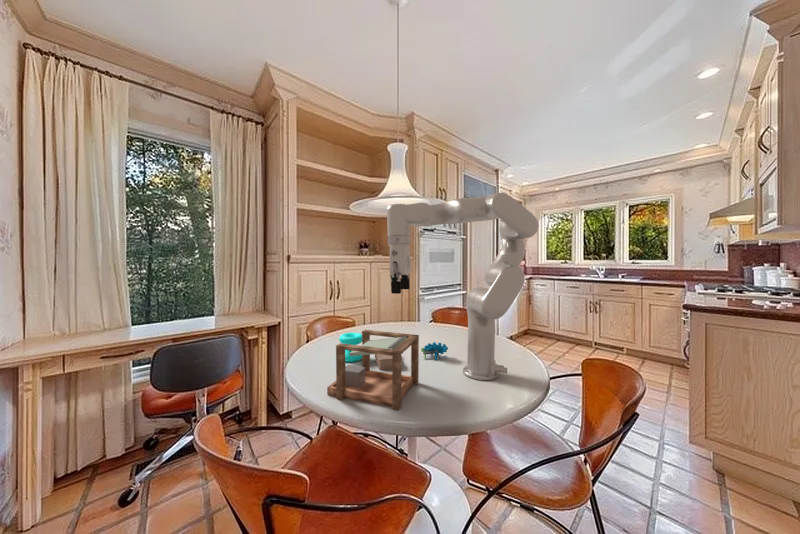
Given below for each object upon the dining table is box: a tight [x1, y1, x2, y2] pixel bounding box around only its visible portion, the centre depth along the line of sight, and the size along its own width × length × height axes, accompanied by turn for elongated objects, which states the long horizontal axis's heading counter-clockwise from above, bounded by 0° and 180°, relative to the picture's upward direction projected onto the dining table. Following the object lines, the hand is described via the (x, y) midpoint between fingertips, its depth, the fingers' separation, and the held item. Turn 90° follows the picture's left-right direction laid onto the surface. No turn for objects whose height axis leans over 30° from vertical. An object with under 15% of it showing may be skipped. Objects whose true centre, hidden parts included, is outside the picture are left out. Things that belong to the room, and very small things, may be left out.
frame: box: [326, 329, 420, 411], centre depth 102 cm, size 24×20×16 cm
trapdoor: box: [350, 337, 407, 356], centre depth 101 cm, size 14×14×1 cm
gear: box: [420, 341, 449, 361], centre depth 131 cm, size 11×6×10 cm
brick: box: [374, 354, 392, 371], centre depth 127 cm, size 17×8×5 cm, turn 11°
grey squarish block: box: [345, 364, 365, 388], centre depth 105 cm, size 5×5×6 cm
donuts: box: [338, 332, 362, 363], centre depth 131 cm, size 10×10×10 cm
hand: (400, 291), depth 108 cm, fingers open, 9 cm apart
